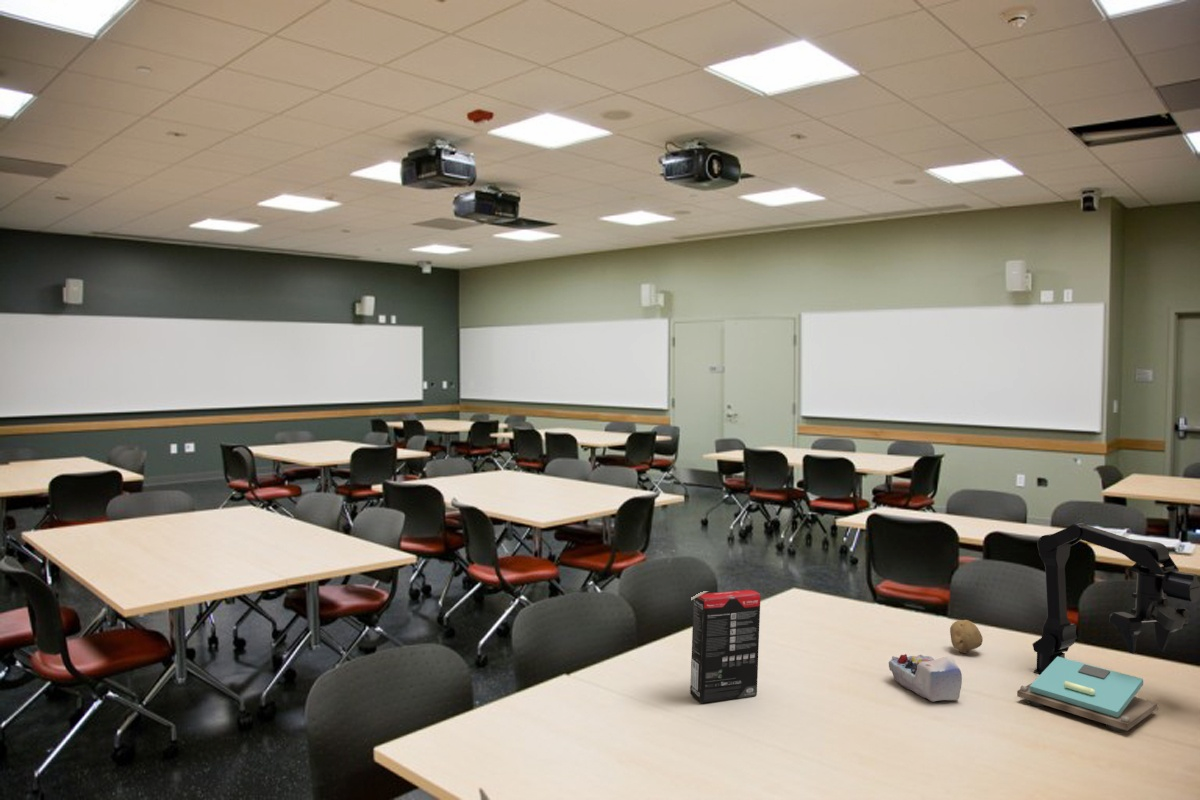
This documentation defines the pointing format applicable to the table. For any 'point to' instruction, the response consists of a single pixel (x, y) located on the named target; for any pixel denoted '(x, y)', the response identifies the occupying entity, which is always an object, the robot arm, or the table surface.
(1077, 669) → the plate
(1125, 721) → the base
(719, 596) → the graphics card box
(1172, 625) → the robot arm
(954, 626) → the potato
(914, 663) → the cell model
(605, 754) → the table surface
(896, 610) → the table surface
